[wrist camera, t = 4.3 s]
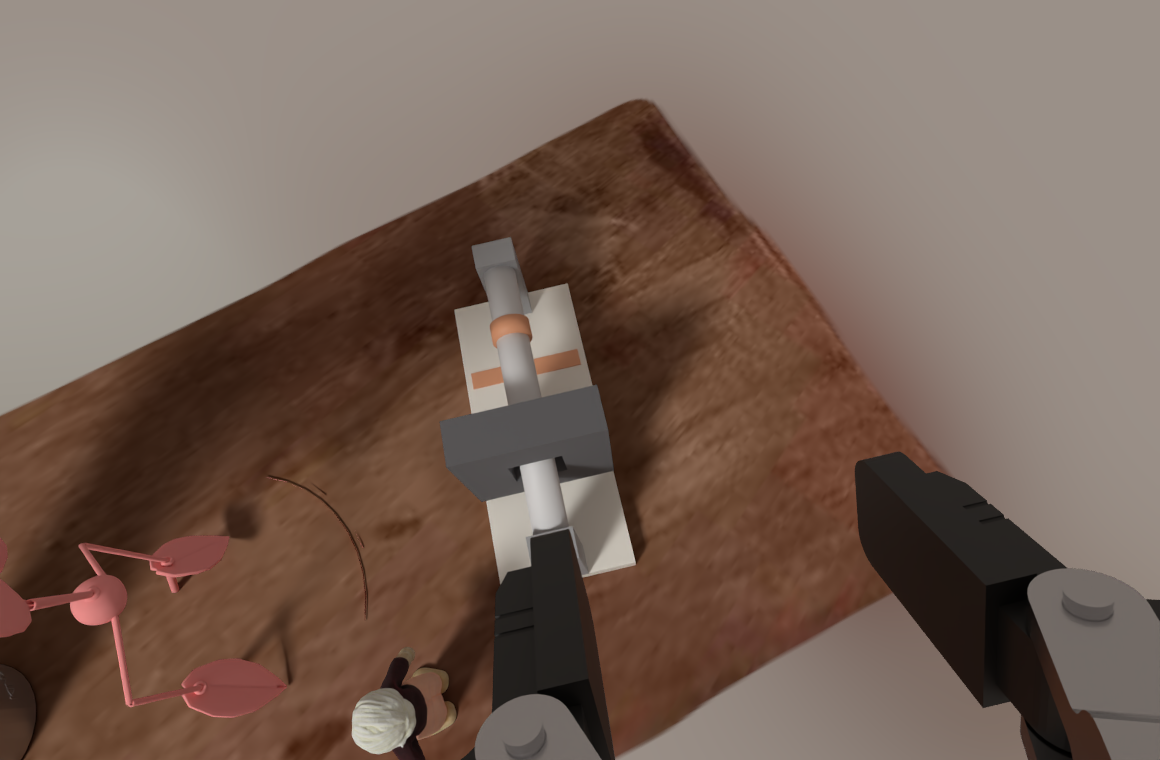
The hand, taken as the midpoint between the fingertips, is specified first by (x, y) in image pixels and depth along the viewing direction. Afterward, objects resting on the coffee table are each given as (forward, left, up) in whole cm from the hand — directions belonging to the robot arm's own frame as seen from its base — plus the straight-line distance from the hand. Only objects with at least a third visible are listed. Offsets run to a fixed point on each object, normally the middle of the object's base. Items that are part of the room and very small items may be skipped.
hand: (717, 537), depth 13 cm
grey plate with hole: (+5, +13, -37) cm, 39 cm away
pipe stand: (+8, +16, -40) cm, 44 cm away
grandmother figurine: (-13, +11, -40) cm, 44 cm away
